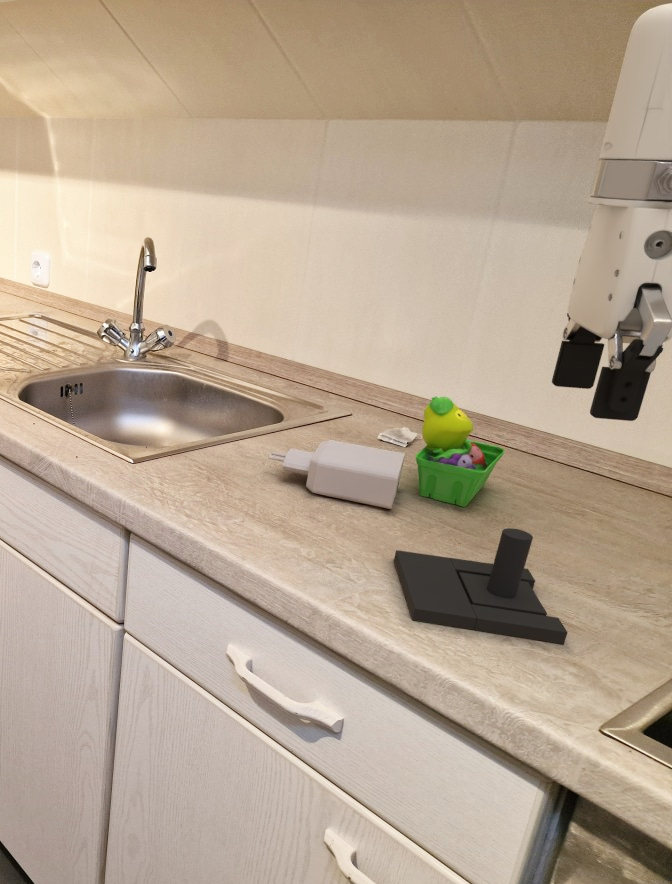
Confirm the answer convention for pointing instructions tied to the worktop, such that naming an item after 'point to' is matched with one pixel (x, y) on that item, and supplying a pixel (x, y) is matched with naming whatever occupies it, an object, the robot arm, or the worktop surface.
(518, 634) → the black flat u-shaped plate
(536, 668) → the worktop surface
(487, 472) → the fruit basket
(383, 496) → the charger
